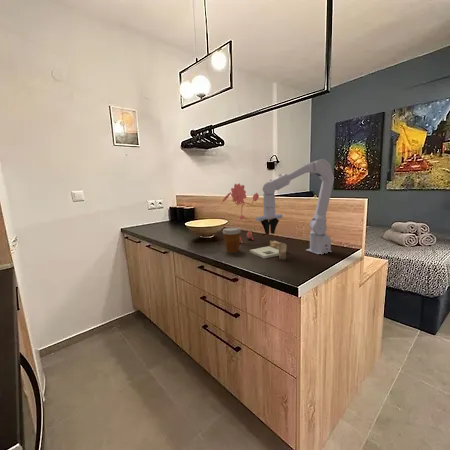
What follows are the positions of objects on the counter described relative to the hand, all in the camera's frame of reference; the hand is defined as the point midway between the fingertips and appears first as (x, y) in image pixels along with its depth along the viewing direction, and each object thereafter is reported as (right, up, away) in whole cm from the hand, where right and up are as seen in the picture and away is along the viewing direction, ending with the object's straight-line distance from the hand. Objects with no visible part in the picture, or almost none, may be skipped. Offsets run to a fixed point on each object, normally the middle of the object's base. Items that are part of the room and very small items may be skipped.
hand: (269, 233), depth 126 cm
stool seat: (-2, -10, 0) cm, 10 cm away
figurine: (-13, -5, +30) cm, 33 cm away
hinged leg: (+5, -9, +4) cm, 11 cm away
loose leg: (+4, -11, -9) cm, 15 cm away
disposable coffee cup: (-18, -10, +8) cm, 22 cm away
